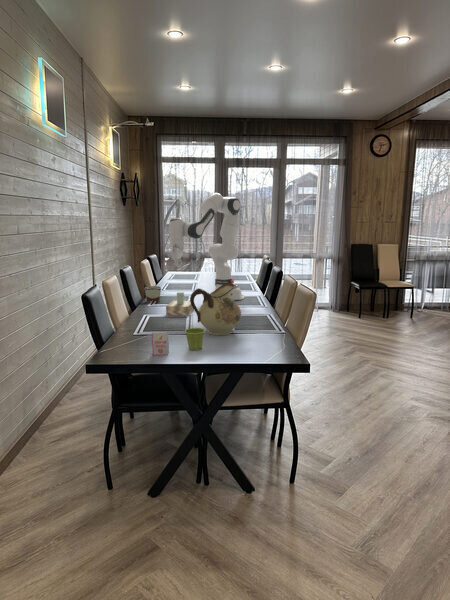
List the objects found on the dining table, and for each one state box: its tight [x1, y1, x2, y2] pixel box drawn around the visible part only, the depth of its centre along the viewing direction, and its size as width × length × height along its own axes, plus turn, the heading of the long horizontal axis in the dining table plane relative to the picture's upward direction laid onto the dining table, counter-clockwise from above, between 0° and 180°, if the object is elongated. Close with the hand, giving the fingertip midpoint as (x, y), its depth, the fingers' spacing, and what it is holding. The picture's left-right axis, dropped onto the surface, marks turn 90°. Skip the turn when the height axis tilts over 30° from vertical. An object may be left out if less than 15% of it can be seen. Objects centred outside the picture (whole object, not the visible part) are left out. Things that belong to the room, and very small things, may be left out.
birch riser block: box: [165, 300, 195, 317], centre depth 264 cm, size 14×16×6 cm
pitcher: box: [189, 283, 242, 336], centre depth 218 cm, size 22×24×25 cm
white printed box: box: [151, 332, 170, 357], centre depth 187 cm, size 4×7×10 cm, turn 90°
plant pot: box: [184, 327, 206, 351], centre depth 195 cm, size 9×9×9 cm
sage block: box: [176, 291, 185, 304], centre depth 263 cm, size 4×4×7 cm
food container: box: [143, 285, 162, 303], centre depth 298 cm, size 12×6×10 cm, turn 84°
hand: (178, 265), depth 273 cm, fingers open, 8 cm apart
